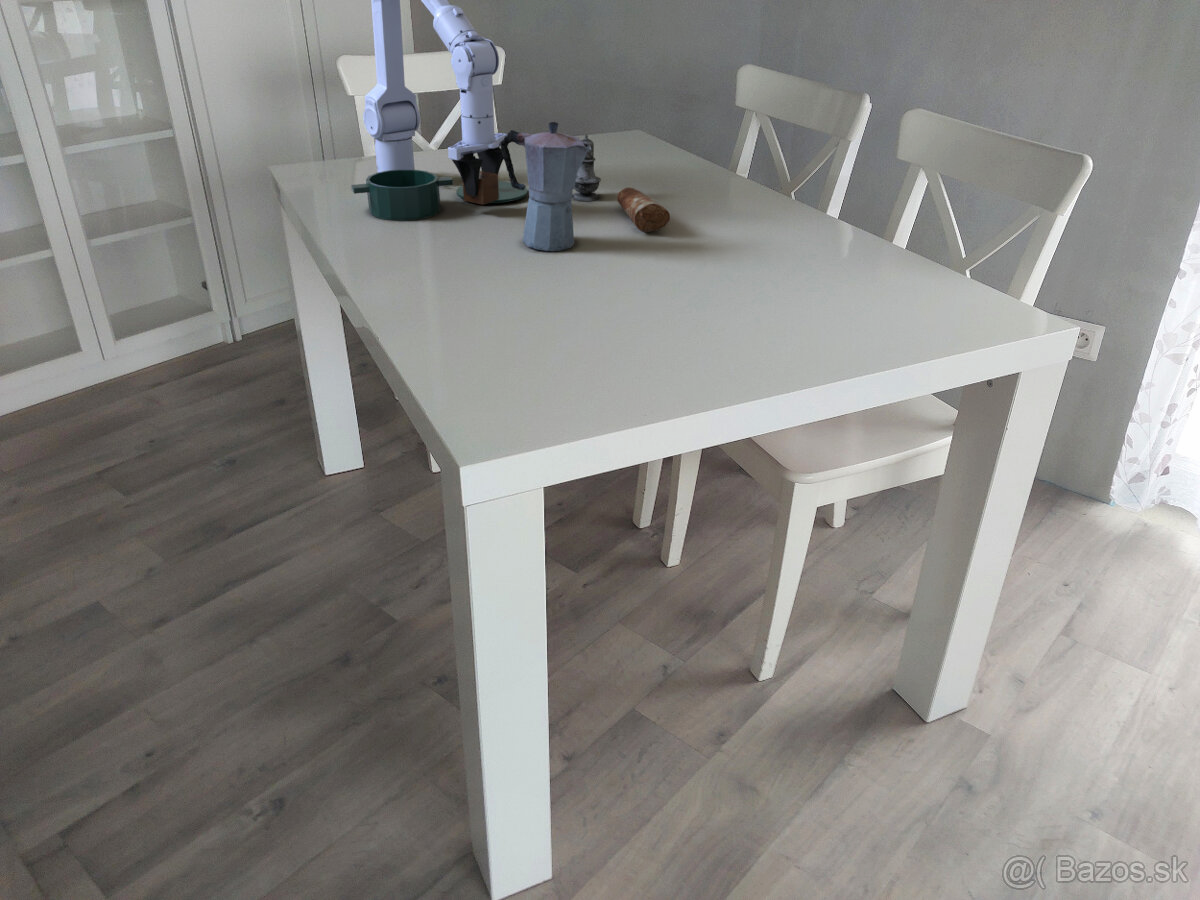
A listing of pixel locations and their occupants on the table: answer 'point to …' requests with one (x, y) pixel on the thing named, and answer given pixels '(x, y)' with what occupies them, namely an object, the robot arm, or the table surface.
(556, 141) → the moka pot
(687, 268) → the table surface
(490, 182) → the block
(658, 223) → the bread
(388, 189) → the pot
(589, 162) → the salt shaker
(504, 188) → the lid
